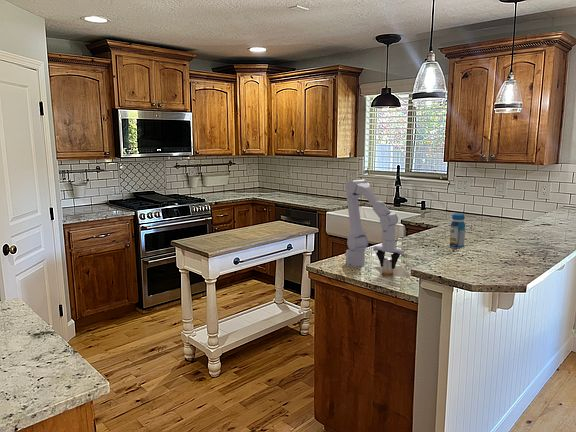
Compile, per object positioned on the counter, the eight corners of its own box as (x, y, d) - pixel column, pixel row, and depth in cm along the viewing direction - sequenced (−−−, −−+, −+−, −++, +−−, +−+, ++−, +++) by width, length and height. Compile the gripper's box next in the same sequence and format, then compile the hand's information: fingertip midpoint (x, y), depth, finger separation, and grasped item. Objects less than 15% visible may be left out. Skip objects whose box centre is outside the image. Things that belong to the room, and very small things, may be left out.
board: (383, 279, 206) (383, 276, 206) (374, 269, 223) (374, 266, 223) (411, 278, 207) (411, 275, 207) (400, 268, 224) (400, 265, 223)
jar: (383, 274, 209) (383, 264, 208) (380, 271, 214) (381, 262, 213) (394, 274, 209) (395, 264, 208) (391, 271, 214) (391, 261, 214)
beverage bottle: (464, 249, 259) (466, 215, 256) (449, 248, 262) (450, 215, 259) (464, 246, 267) (465, 213, 264) (449, 245, 270) (450, 212, 267)
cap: (380, 269, 211) (380, 259, 210) (385, 266, 215) (386, 257, 214) (390, 271, 208) (390, 261, 207) (395, 268, 212) (395, 258, 211)
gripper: (406, 239, 208) (406, 267, 210) (378, 235, 217) (377, 263, 219) (400, 242, 202) (399, 271, 204) (371, 238, 211) (371, 266, 213)
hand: (387, 267), depth 211 cm, fingers closed on cap, 5 cm apart
